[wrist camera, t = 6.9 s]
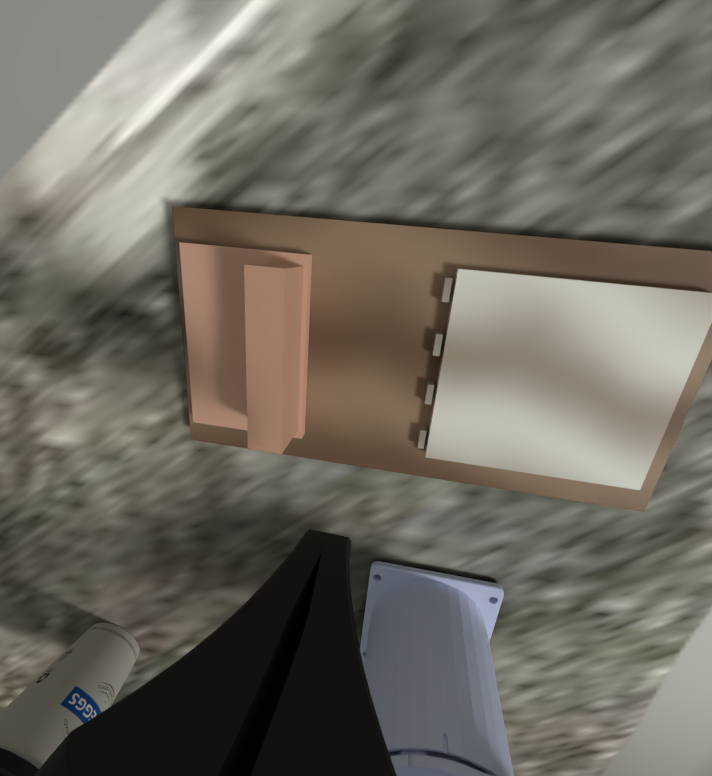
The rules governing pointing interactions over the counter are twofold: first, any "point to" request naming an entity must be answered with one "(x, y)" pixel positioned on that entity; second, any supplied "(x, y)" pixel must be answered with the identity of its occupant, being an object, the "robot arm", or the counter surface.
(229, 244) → the board
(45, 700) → the coffee cup
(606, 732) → the counter surface
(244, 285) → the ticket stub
